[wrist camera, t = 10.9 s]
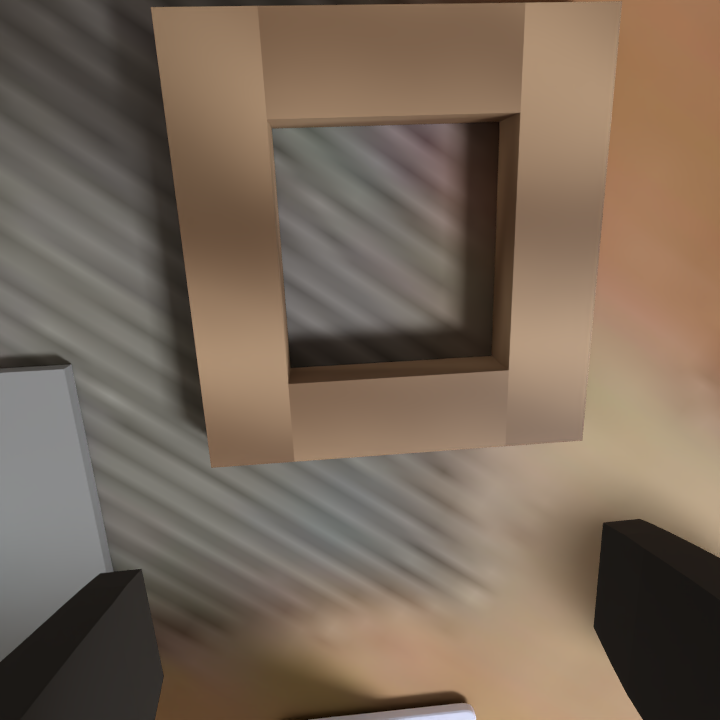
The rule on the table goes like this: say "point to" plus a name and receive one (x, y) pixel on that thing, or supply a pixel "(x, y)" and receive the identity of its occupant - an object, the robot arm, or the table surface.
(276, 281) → the wooden square frame
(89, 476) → the charcoal mat
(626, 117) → the table surface
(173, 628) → the table surface
